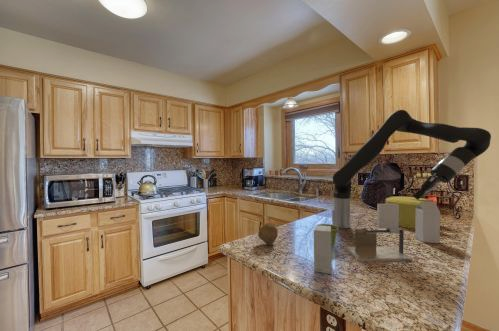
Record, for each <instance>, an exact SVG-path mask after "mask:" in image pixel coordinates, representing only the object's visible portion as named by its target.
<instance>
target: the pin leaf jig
mask: <svg viewBox="0 0 499 331" xmlns="http://www.w3.org/2000/svg"><path fill="white" fill-rule="evenodd" d="M354 232H355V235H354V236H355V237H354V238H355V240H354V241H355V242H354V243H355V244H354V245H355V246H345V249H346V250H347V252H348V253H350V254H351V255H352V256H353V257H354V258H355V259H356V260H357V261H358V262H413V260H414V259H413V258H412V257H411V256H409V255H408V254H406V253H404V242H405V240H404V236H405V235H404V234H405V232H404V229H400V232H399V233H398V234H399V236H398V238H399V241H398V248H397V247H395V246H377V241H378V240H377V233H378V234H379V233H382V234H383V233H384V234H385V233H387V234H391V233H390V230H386V229H367V228H355V229H354Z"/></svg>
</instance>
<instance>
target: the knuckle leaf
mask: <svg viewBox="0 0 499 331" xmlns="http://www.w3.org/2000/svg"><path fill="white" fill-rule="evenodd" d="M376 204H377V205H376V207H377V208H376V228H377V229H385V230H390V233H389V234H399V232H400V230H401V229H400V228H399V227H400V226H399V204H386V203H376Z"/></svg>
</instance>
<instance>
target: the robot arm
mask: <svg viewBox="0 0 499 331" xmlns="http://www.w3.org/2000/svg"><path fill="white" fill-rule="evenodd" d="M396 131H397V132H400V133H407V134H408V133H409V134H415V135H421V136H425V137H429V138H433V139H437V140H440V141H444V142H447V143H453V144H454V143H457V142H459V141H464V142H465V144H464V145H463V146H458V147H456V148H454V149H453V150H452V151H451V152H450V153H449V154H448V155H446V156H445V157H444V158H443V159H441V160H440V161H439V162H438V163H436V164H435V165H434V166H433V167H432V169H430V170H429V173H430V176H429V177H427V179H426V180H425V181H424V182H423V184H422V185H421V187H420V188H419V189H418V190H417V191H416V192H415V193H414V194H413V196H412V197H414V198H416V199H417V200H418V199H420V198H423V196H424V195H427V194H429V193H430V192H432V191H434V189H435V188H437V187H438V186H440V183H446V184H447V183H450V182H451V181H452V180H453V179H454V178H455V177H456V176H457V175H458V174H459V173H460V172H462V171H463V169H464V168H465V167H466V166H467V165H468V164H469V163H470V162H471V161H473V159H476V158H477V157H479V156H481V155H483V153H485V152H486V151H487V150H488V148H489V147H490V145H491V140H492V135H491V133H490V131H488V130H487V129H483V128H480V127H468V126H467V127H463V126H462V127H460V126H459V127H458V126H456V125H451V124H447V123H440V122H438V123H437V122H435V123H434V122H433V123H432V122H424V121H423V122H422V121H419V120H417V119H414V118H412V116H411V115H410V113H409V112H408V111H406V110H405V109H398V110H395V111H394V112H393V113H391V114H390V115H389V117H388V118H387V119H386V120H385V121H384V123H383V124H382V125H381V126H380V127H379V129H377V131H376V132H374V133H373V134H372V136H371V137H370V138H369V139H368V140H367V141H366V142H365V143H364V144H362V146H361V147H360V148H359V149H358V150H357V151H356V152H355V153H353V154H354V155H352V157H351V158H350V160H348V162H346V164H344V165H343V166H342V167H341V168H340V169H338V170H337V171H336V172H335V173H334V174H333V176H332V182H333V184H334V191H333V204H332V205H333V209H332V212H331V214H332V217H331V218H332V220H331V222H332V223H331V225H334V226H337V227H338V228H339V229H349V228H350V227H351V195H352V194H351V193H352V179H353V177H355V175H356V174H358V172H359V171H361V170H362V169H363V168H365V167H367V166H368V164H370V163H371V162H372V161H374V160H375V158H377V157H378V155H380V154H381V153H382V151H383V149H384V148H385V146H386V143H387V142H388V140H389V138H390V137H391V136H392V135H394V133H396Z"/></svg>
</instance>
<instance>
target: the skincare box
mask: <svg viewBox="0 0 499 331" xmlns="http://www.w3.org/2000/svg"><path fill="white" fill-rule="evenodd" d="M332 260H333V258H332V247H331V226H322V225H319V224H317V225H315V226H314V229H313V269H314V270H313V271H314V272H315V273H316V272H317V273H323V274H328V275H332V266H333V265H332V264H333V263H332Z"/></svg>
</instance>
